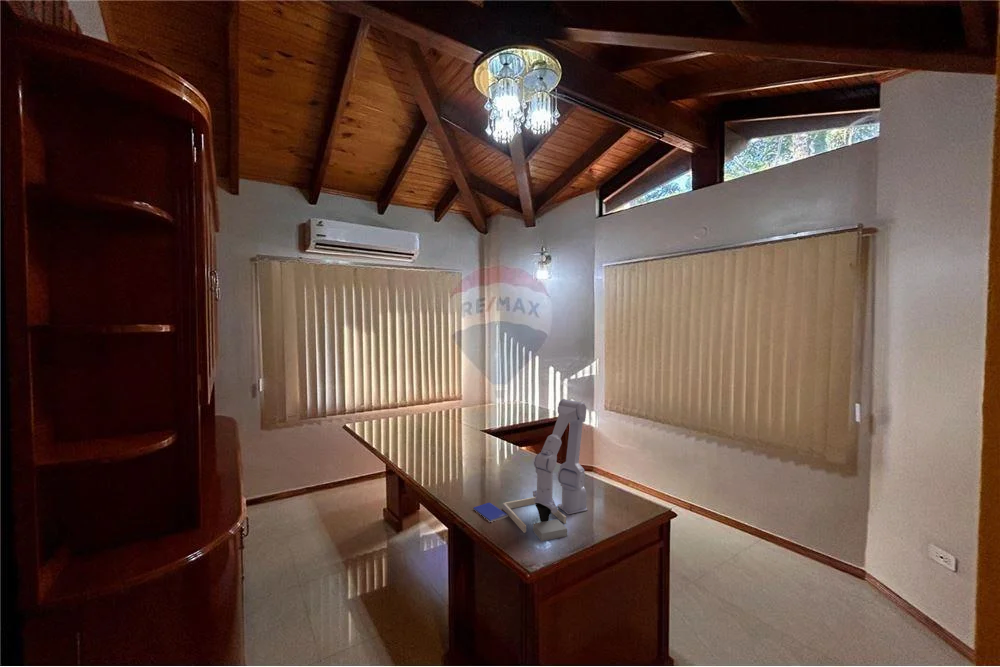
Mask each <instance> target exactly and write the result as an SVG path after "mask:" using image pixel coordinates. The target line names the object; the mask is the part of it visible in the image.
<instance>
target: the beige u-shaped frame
mask: <svg viewBox="0 0 1000 667" xmlns="http://www.w3.org/2000/svg"><path fill="white" fill-rule="evenodd" d="M534 499H536V498H535V497H534V496H532V497H527V498H523V499H515V500H511V501H506V502H502V511H503V512H505V513H506V514H507V515H508V517H509V518H510V519H511V520H512V521H513V523H515V525H516V526H517V527H518V528H519V529H520V531H522V532H523V533H524V534H526V533H527V525H526V524H525V522H524V521H522V519H521V518H520V517H519V516H518V515H517V514H516V513H515V512H514V511H513V510H512V509H515V508H522V507H525V506H531V505H535V502H534ZM550 514H552V515H553V516H555V517H556V518H557V519H558V520H559V521H560V522H561V523H562V524H563V525H565V524H567V516H566V515H565V514H563V513H562V512H561V511H560V509H557V512H556V513H552V512H551V513H550Z"/></svg>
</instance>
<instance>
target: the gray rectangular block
mask: <svg viewBox="0 0 1000 667" xmlns="http://www.w3.org/2000/svg"><path fill="white" fill-rule="evenodd" d="M532 531H533V533H534V534H535V535H536V536H537V538H538V539H539V540H540V542H544V541H550V540H555V539H559V538H564V537H567V536H568V528H567V527H566V526H565V524H564V523H563V522H562V521H560V520H559V519H558V518H557V519H552V520H551V519H550V520H548V521H544V522H541V521H540V522H534V523H532Z"/></svg>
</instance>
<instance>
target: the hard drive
mask: <svg viewBox="0 0 1000 667" xmlns="http://www.w3.org/2000/svg"><path fill="white" fill-rule="evenodd" d="M473 509H474V510H475V511H476V512H475V511H474V510H473ZM472 510H473V511H474V512H475V513H477V512H478V513H479V514H480V515H479V514H478V513H477V514H478V515H479V516H481V515H482V516H483V517H484V518H483V517H482V516H481V517H482V518H483V519H485V518H486V519H487V520H488V523H490V522H492V523H494V522H493V521H495V522H497V521H496V520H498V521H500V520H503V519H505V518H506V519H507V518H508V517H509V516H508V514H507V513H506V512H505V511H504V510H503V509H502V510H501V509H500V508H499V507H497V506H495V505H494V504H493V503H491V502H486V503H484V504H481V505H477V506H474V507H473V508H472ZM486 519H485V520H486ZM487 520H486V521H487Z"/></svg>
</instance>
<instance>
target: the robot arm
mask: <svg viewBox="0 0 1000 667" xmlns="http://www.w3.org/2000/svg"><path fill="white" fill-rule="evenodd" d="M557 414H558V415H557V416H558V417H557V418H556V422H555V424H554V426H553V427H554V428H553V430H552V434H550V435H548V436H547V437H546V440H545V441H544V444H543V446H542V449H541V451H540V452H539V453H537V454H536V455H535V458H534V461H533V466H534V468H535V473H536V490H533V491H532V497H535V498H536V499H534V502H535V504H534V506H535V507H536V509H537V510H536V511H537V512H538V516H539V520H540V522H544V521H550V520H549V519H550V515H551V514H552V513H556V512H557V510H558V508H559V509H561V510H562V511H563V512H565V513H566V514H567V515H572V514H575V513H581V512H585V511H588V508H587V498H588V497H587V496H588V495H587V494H588V493H587V490H586V488H585V483H586V476H585V469H584V467H583V466H582V465H581V464H580V462H579V461H580V453H581V452H580V451H581V446H582V445H581V444H582V433H583V425H584V424H583V423H585V422H586V418H587V417H586V416H587V405H586V404H585V402H584V401H577V400H571V399H565V398H562V399H560V401H559V402H558V406H557ZM568 425H569V429H568V430H569V431H568V439H567V448H566V456H565V461H564V462H563V463H561V464H560V465H559V471H558V472H557V481H558V483H559V484H560V487H561V503H560V504H557V505H556V503H555V501H554V498H553V487H554V482H553V481H554V480H553V478H554V470H555V469H556V467H557V461H558V460H557V459H558V456H557V455H558V453H559V452H560V448H561V446H562V443H563V442H562V436H563V435H564V432H565V430H566V429H567V427H568ZM551 512H552V513H551Z"/></svg>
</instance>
